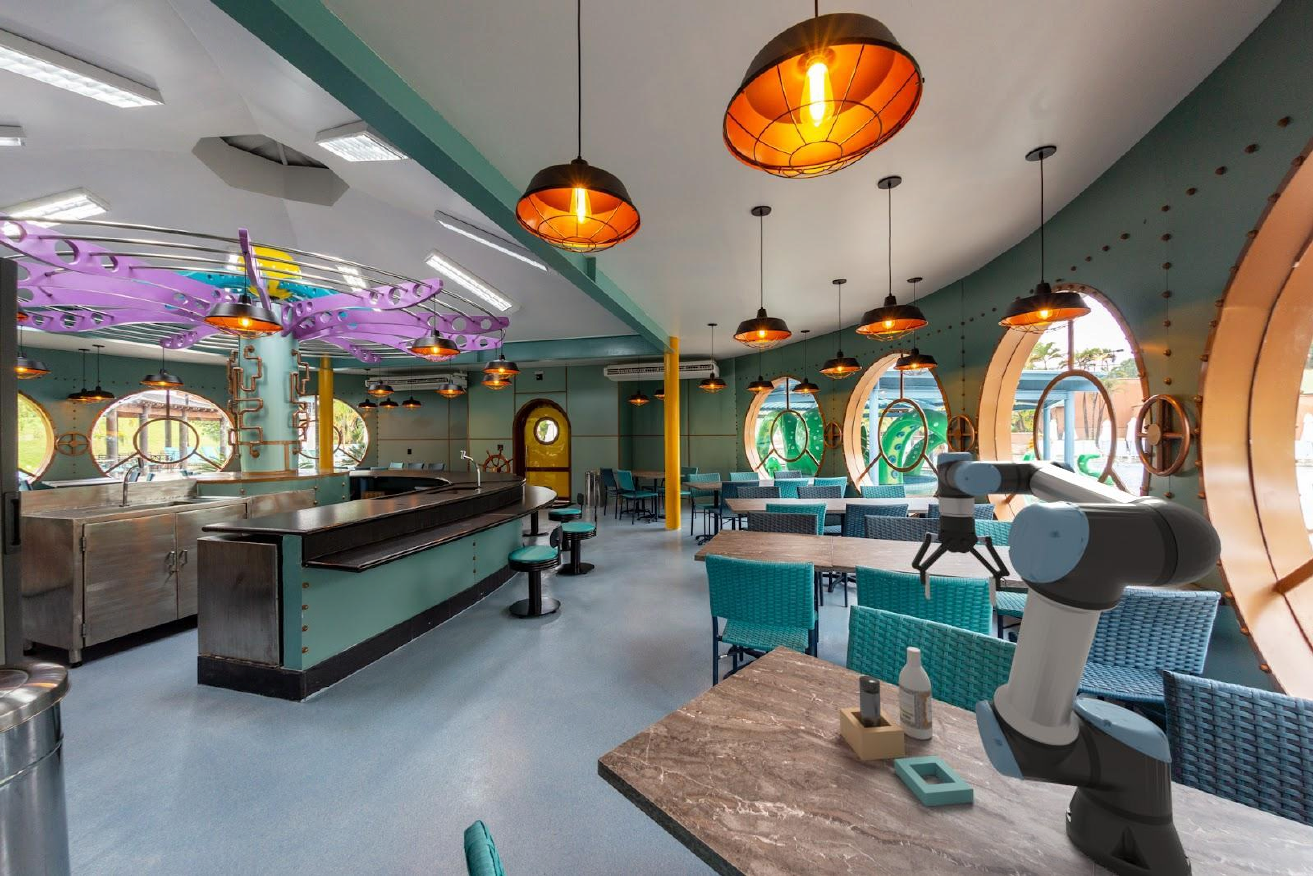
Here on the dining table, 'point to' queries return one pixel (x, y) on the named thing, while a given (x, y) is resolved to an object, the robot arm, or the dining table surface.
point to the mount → (936, 793)
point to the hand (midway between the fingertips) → (959, 601)
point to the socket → (872, 736)
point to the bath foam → (915, 698)
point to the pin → (870, 702)
